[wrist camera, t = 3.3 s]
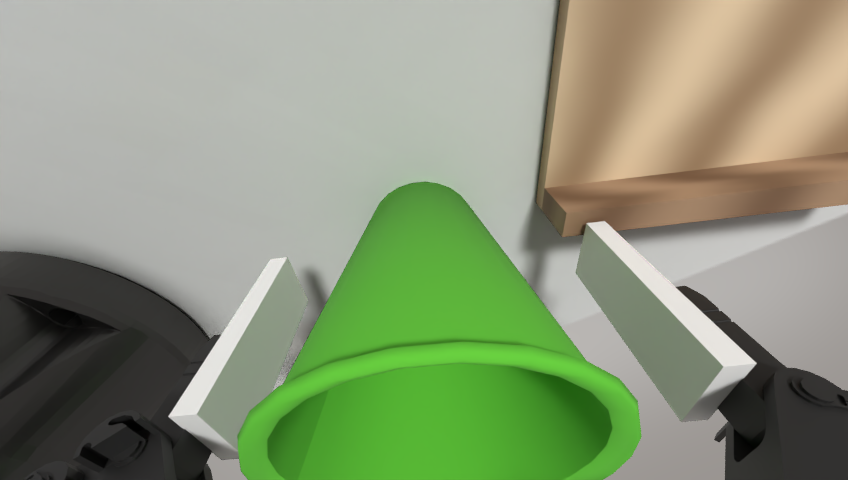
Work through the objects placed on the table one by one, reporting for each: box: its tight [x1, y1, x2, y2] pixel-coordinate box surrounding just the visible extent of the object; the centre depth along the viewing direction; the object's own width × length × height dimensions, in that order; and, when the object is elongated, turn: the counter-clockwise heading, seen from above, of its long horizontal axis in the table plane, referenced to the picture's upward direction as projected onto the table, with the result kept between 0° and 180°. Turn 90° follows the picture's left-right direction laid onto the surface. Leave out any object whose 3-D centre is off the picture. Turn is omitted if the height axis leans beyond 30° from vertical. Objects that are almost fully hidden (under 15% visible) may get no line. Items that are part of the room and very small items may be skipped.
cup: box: [237, 182, 641, 480], centre depth 11 cm, size 9×9×11 cm
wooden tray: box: [536, 0, 848, 237], centre depth 10 cm, size 16×14×3 cm
